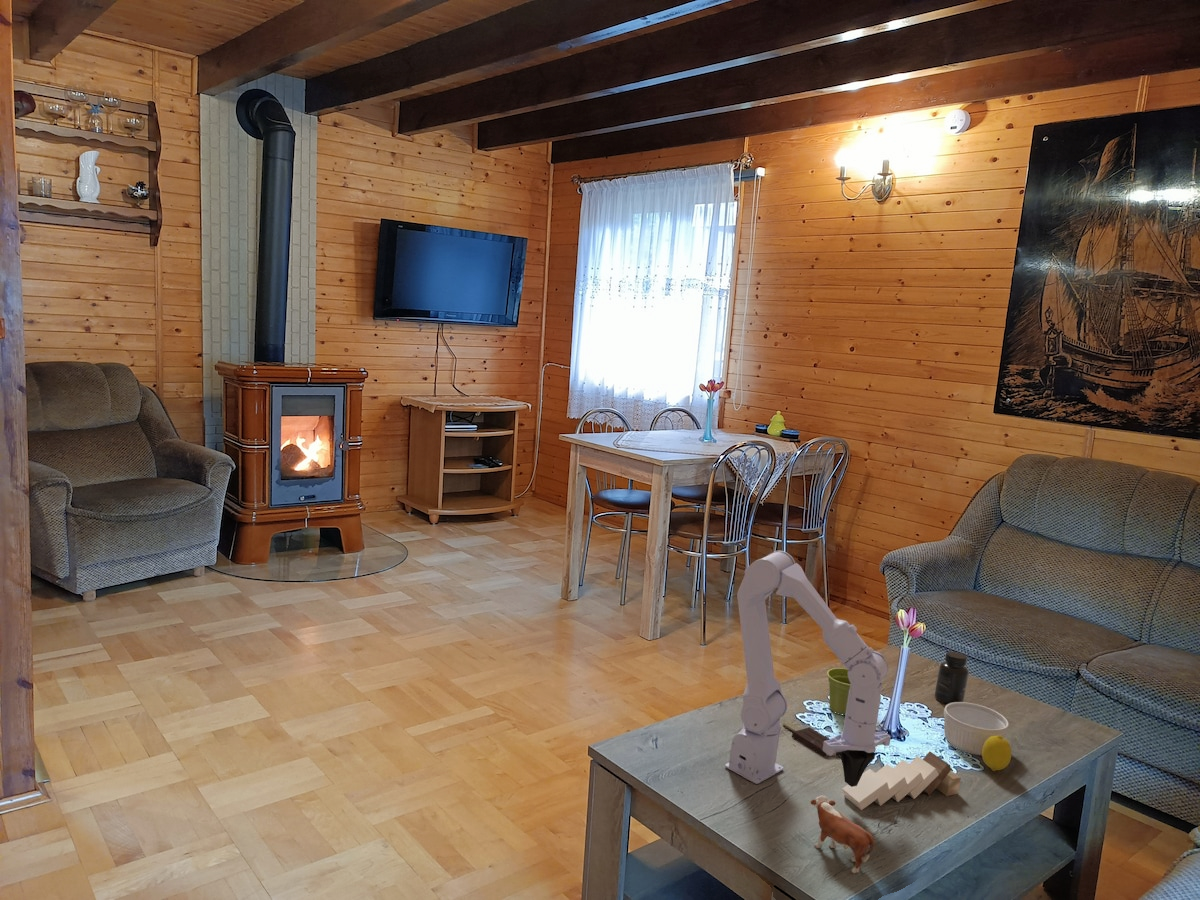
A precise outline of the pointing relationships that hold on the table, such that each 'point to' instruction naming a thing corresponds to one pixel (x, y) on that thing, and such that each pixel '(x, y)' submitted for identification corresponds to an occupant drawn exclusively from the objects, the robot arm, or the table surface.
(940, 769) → the domino
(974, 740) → the ramekin
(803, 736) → the ice cream bar
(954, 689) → the supplement bottle
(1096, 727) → the table surface
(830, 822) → the bull figurine
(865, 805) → the domino
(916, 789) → the domino
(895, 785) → the domino
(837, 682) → the plant pot
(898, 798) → the domino
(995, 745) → the lemon
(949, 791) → the end block
